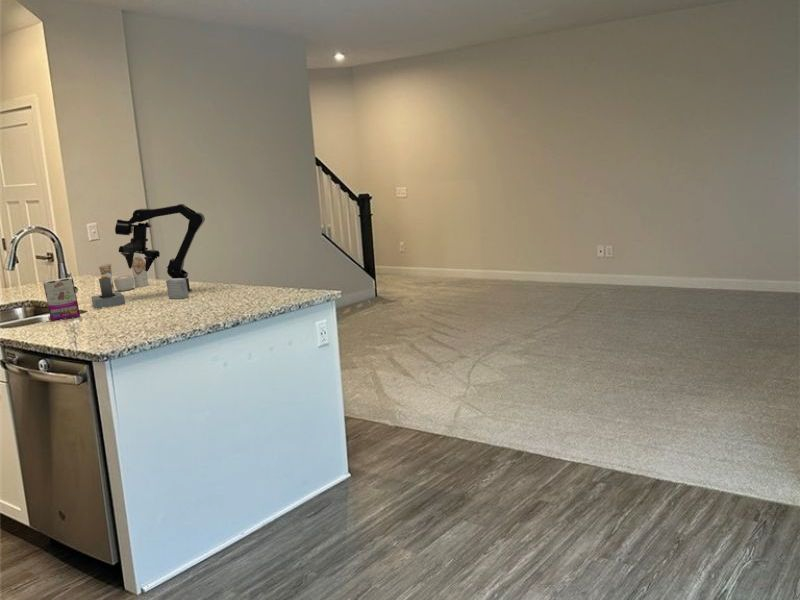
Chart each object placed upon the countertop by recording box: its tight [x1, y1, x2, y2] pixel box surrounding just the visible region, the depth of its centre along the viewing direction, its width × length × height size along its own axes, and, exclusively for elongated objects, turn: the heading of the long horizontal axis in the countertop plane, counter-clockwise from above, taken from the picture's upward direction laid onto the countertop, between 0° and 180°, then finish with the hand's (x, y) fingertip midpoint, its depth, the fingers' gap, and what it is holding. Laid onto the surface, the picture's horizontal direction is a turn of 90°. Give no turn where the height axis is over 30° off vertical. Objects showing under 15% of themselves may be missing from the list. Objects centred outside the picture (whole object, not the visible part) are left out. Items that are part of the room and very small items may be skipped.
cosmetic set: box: [98, 253, 149, 293], centre depth 345 cm, size 25×9×19 cm, turn 145°
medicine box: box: [165, 278, 189, 300], centre depth 310 cm, size 8×4×9 cm, turn 65°
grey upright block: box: [98, 274, 113, 298], centre depth 308 cm, size 5×5×14 cm
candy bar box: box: [42, 276, 81, 322], centre depth 285 cm, size 11×5×16 cm, turn 117°
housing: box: [90, 291, 126, 309], centre depth 309 cm, size 12×12×4 cm
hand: (138, 269), depth 321 cm, fingers open, 9 cm apart
